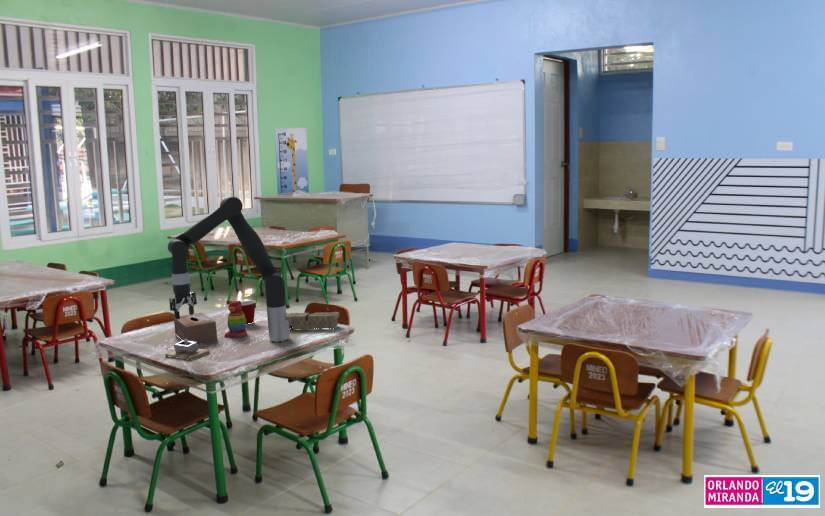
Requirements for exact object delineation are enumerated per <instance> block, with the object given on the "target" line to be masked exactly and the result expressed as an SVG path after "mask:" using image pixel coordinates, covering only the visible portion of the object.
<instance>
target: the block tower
mask: <svg viewBox="0 0 825 516" xmlns="http://www.w3.org/2000/svg"><path fill="white" fill-rule="evenodd" d="M286 316H287V320H288V321H289V329H290V328H292V327H293V328H292V330H293V329H314V328H315V329H316V328H317V329H318V328H319V329H322V328H329V329H330V328H331V329H333V328H335V327H336V326H337V325H338V324H339V323H338V318H340V312H339V311H332V312H325V311H324V312H314V313H310V312H286ZM337 327H338V326H337ZM337 327H336V328H337ZM336 328H335V329H336Z"/></svg>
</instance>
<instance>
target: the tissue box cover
mask: <svg viewBox="0 0 825 516" xmlns="http://www.w3.org/2000/svg"><path fill="white" fill-rule="evenodd" d="M173 325H174V333H175V334H177V335H178V336H179V337H180V338H181V339H182V340H184V339H188V341H193V342H197V345H201V344H200V343H203V344H207V343H211V342H212V343H214V342H218V331H217V322H216V321H215V320H214V319H212V318H211V317H209V316H208V315H206V314H205V313H203V312H201V311H200V312H196V313H195V312H194V314H193V315H190V314H189V313H188V314H184V315H180V319H176V318H175V316H173ZM175 334H174V335H175ZM182 340H181V341H182Z"/></svg>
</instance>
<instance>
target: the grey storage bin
mask: <svg viewBox="0 0 825 516" xmlns="http://www.w3.org/2000/svg"><path fill="white" fill-rule="evenodd" d="M173 346H174V350H175V352H176V353H182V354H189V355H190V354H192V353H194V352H196V351H197V350H198V349H199V346H198V344H197V342H193V341H188V345H185V344H184V340H181V341H179V342H177V343H175V344H173Z"/></svg>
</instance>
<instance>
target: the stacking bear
mask: <svg viewBox="0 0 825 516" xmlns="http://www.w3.org/2000/svg"><path fill="white" fill-rule="evenodd" d="M241 302H242V301H241V300H230V301H228V305H227V306H228V307H227V308H228V311H229V313H228V315H227V327H228V330H229V331H226V332H225V334H224V337H225V338H237V339H238V338H244V337H246V336H247V335H248V331H247V330H246V329H247V325H246V318H245V315H244V313H243V312H242V311H241V309H242V304H241Z"/></svg>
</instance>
